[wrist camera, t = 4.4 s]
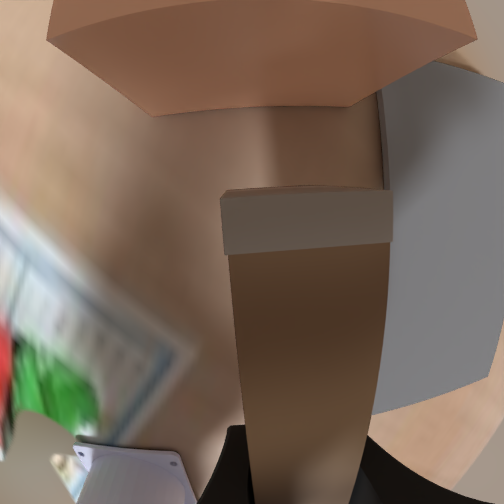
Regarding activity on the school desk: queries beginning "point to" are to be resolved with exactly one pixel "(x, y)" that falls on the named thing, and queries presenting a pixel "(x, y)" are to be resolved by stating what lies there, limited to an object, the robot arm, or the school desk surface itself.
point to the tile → (255, 48)
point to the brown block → (307, 331)
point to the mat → (442, 232)
